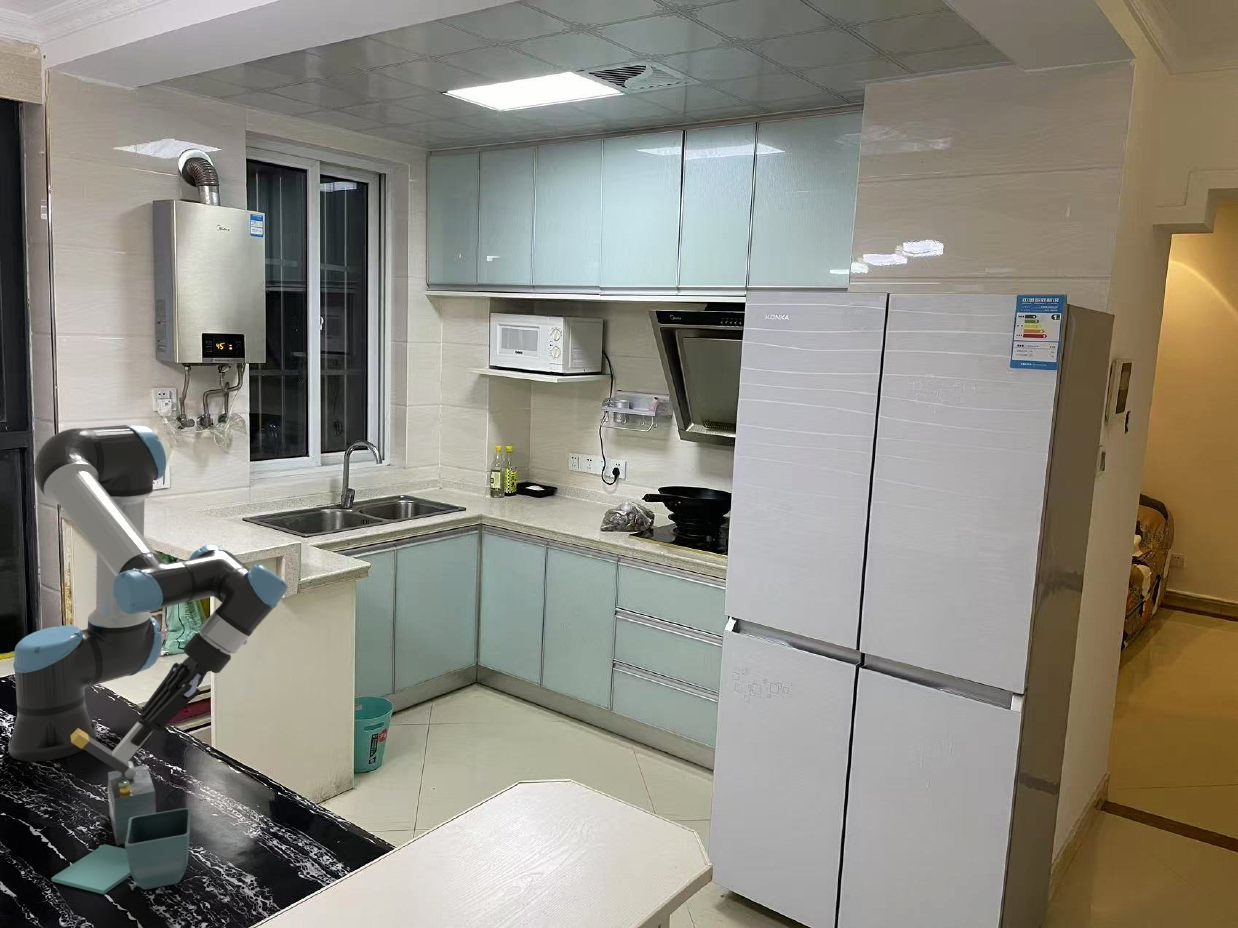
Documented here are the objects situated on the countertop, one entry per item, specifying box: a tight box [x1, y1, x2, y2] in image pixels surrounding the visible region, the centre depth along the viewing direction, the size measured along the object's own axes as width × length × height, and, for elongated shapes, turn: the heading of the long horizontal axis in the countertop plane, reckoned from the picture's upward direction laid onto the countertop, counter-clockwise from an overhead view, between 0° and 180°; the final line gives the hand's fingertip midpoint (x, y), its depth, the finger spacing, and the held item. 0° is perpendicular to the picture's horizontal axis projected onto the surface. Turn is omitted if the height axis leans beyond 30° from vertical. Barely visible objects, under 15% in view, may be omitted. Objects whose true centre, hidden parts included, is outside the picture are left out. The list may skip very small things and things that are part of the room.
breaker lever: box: [71, 728, 136, 779], centre depth 157 cm, size 2×4×12 cm
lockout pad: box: [50, 843, 132, 895], centre depth 145 cm, size 10×10×1 cm
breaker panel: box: [106, 764, 157, 846], centre depth 158 cm, size 6×11×9 cm, turn 34°
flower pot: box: [124, 807, 192, 890], centre depth 143 cm, size 9×9×9 cm
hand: (119, 757), depth 157 cm, fingers closed
